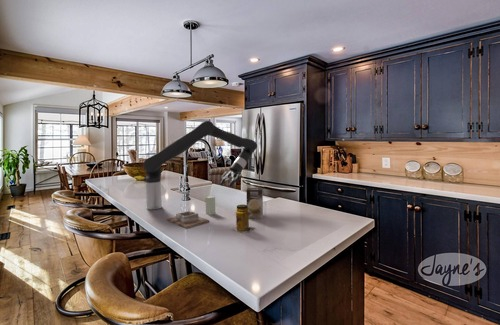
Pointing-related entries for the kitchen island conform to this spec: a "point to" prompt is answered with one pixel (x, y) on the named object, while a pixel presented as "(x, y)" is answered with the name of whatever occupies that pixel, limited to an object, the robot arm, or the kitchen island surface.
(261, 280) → the kitchen island surface
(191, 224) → the board
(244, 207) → the condiment
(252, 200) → the coffee box
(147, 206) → the robot arm
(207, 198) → the post
